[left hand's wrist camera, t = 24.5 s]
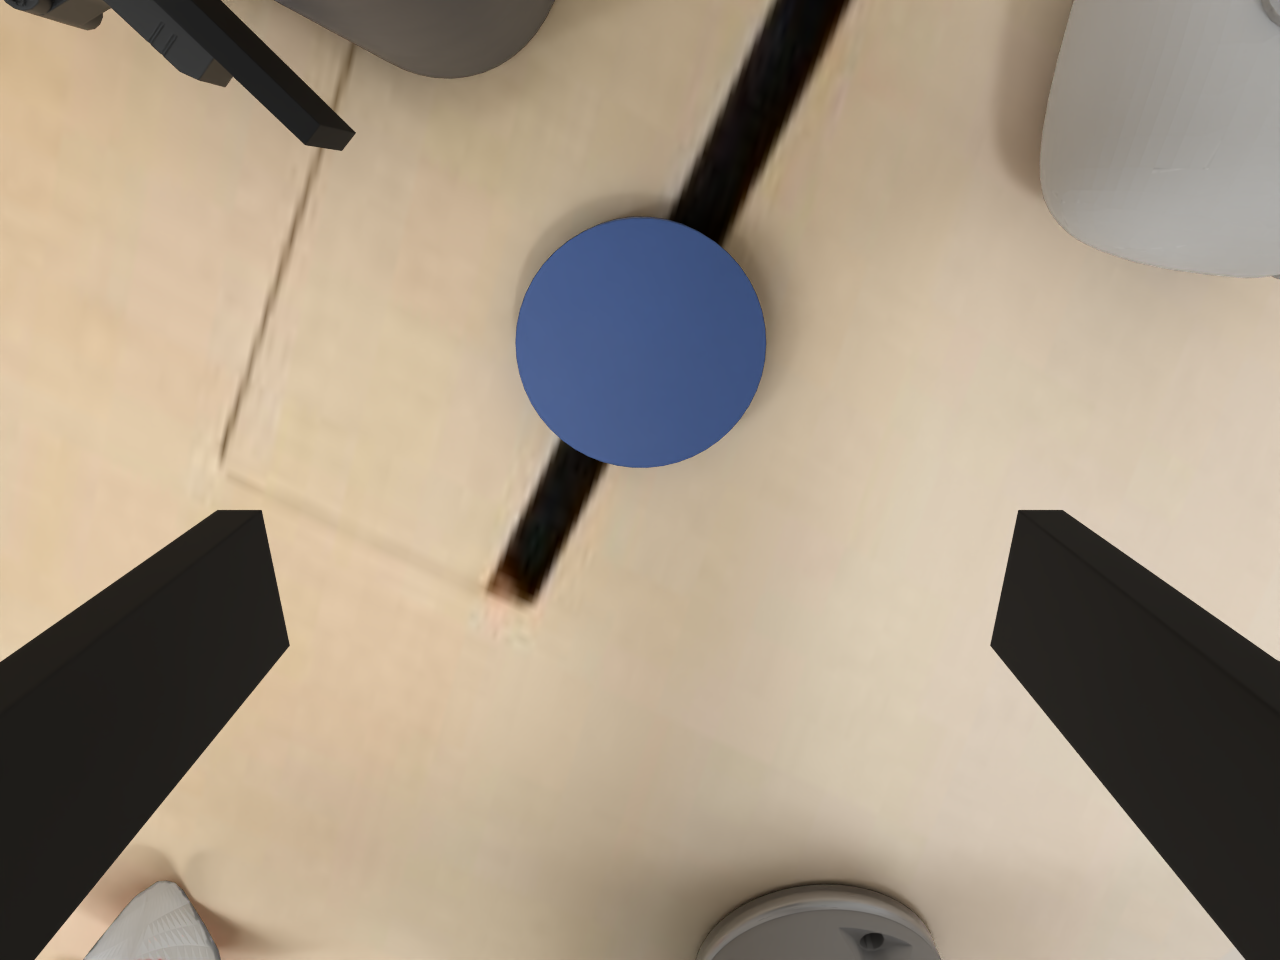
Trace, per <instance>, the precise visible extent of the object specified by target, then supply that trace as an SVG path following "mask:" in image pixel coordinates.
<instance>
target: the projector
mask: <svg viewBox="0 0 1280 960" xmlns="http://www.w3.org/2000/svg"><path fill="white" fill-rule="evenodd" d="M1040 182H1041V188H1042V193H1043V197H1044V200H1045V202H1046V205H1047V207H1048V209H1049V211H1050V213H1051V214H1052V216H1053V217H1054V218H1055V220H1056V221H1057V222H1058V224H1059V225H1060V226H1062V227H1063V228H1064V229H1065V230H1066V231H1067V232H1068V233H1069V234H1070V235H1072V236H1073V237H1075V238H1076V239H1077V240H1079V241H1081V242H1083V243H1085V244H1087V245H1089V246H1091V247H1093V248H1095V249H1097V250H1100V251H1102V252H1105V253H1108V254H1110V255H1113V256H1116V257H1120V258H1123V259H1126V260H1129V261H1132V262H1137V263H1141V264H1146V265H1150V266H1154V267H1159V268H1165V269H1171V270H1177V271H1184V272H1192V273H1199V274H1206V275H1217V276H1227V277H1237V278H1260V277H1268V276H1272V277H1274V278H1277V279H1280V0H1074V1H1073V4H1072V8H1071V11H1070V15H1069V19H1068V22H1067V26H1066V30H1065V33H1064V37H1063V40H1062V44H1061V48H1060V51H1059V55H1058V59H1057V63H1056V68H1055V72H1054V76H1053V80H1052V85H1051V89H1050V93H1049V98H1048V103H1047V109H1046V114H1045V120H1044V125H1043V131H1042V141H1041V151H1040Z"/></svg>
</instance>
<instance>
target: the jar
mask: <svg viewBox="0 0 1280 960" xmlns="http://www.w3.org/2000/svg"><path fill="white" fill-rule="evenodd" d="M275 1H276V2H278V3H280V4H282V5H284V6H286V7H287V8H289V9H291V10H293V11H295V12H297V13H299V14H300V15H302V16H304V17H306V18H308V19H310V20H312V21H313V22H315V23H317V24H319V25H321V26H323V27H325V28H326V29H328V30H330V31H332V32H334V33H336V34H338V35H339V36H341V37H343V38H345V39H347V40H349V41H351V42H352V43H354V44H356V45H358V46H360V47H362V48H363V49H365V50H367V51H369V52H371V53H373V54H375V55H376V56H378V57H380V58H382V59H384V60H386V61H388V62H390V63H392V64H394V65H396V66H398V67H400V68H402V69H404V70H407V71H410V72H413V73H416V74H419V75H423V76H429V77H434V78H461V77H468V76H472V75H476V74H480V73H483V72H486V71H488V70H490V69H492V68H495V67H497V66H499V65H500V64H502V63H504V62H505V61H507V60H508V59H510V58H511V57H513V56H514V55H515V54H516V53H517V52H519V51H520V50H521V49H522V48H523V47H524V46H525V45H526V44H527V43H528V42H529V41H530V39H531V38H532V37H533V36H534V35H535V34H536V32H537V31H538V29H539V28H540V26H541V25H542V23H543V22H544V20H545V19H546V17H547V15H548V13H549V11H550V9H551V7H552V5H553V3H554V0H275Z"/></svg>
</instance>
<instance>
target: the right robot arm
mask: <svg viewBox="0 0 1280 960" xmlns="http://www.w3.org/2000/svg"><path fill="white" fill-rule="evenodd" d="M4 1H5V2H6V3H7V4H9V5H10V6H12V7H13V8H15V9H18V10H21V11H25V12H28V13H31V14H34V15H37V16H41V17H44V18H47V19H51V20H54V21H57V22H60V23H64V24H67V25H70V26H74V27H77V28H81V29H85V30H92V29H95V28H96V27H98V26H99V25H100V23H101V21H102V18H103V12H105V11H107V10H108V9H110V8H112V9H113V10H114V11H115V12H116V13H117V14H119V15H120V16H121V17H122V18H123V19H124V20H125V21H126V22H127V23H128V24H129V25H130V26H131V27H133V28H134V29H135V30H136V31H137V32H138V33H139V34H140V35H141V36H142V37H143V38H144V39H145V40H146V41H148V42H149V43H150V44H151V45H152V46H153V47H154V48H155V49H156V50H157V51H158V52H159V53H160V54H162V55H163V56H164V57H165V58H166V59H167V60H168V61H169V62H170V63H171V64H172V65H173V66H174V67H175V68H176V69H178V70H179V71H180V72H182V73H184V74H186V75H188V76H191V77H193V78H195V79H197V80H200V81H204V82H207V83H211V84H215V85H219V86H222V87H226V86H227V84H228V83H229V81H230V80H231V78H232V77H234V78H235V79H236V80H237V81H238V82H239V83H241V84H242V85H243V86H244V87H245V88H246V89H247V90H248V91H249V92H250V93H251V94H252V95H253V96H254V97H255V98H256V99H257V100H258V101H259V102H260V103H262V104H263V105H264V106H265V107H266V108H267V109H268V110H269V111H270V112H271V113H272V114H273V115H274V116H275V117H276V118H277V119H278V120H279V121H280V122H281V123H283V124H284V125H285V126H286V127H287V128H288V129H289V130H290V131H291V132H292V133H293V134H294V135H295V136H296V137H297V138H298V139H299V140H300V141H301V142H302V143H304V144H305V145H308V146H314V147H321V148H327V149H333V150H340V151H342V150H343V149H344V148H345V146H346V145H347V144H348V142H349V141H350V140H351V139H352V137H353V136H354V135H355V133H356V132H354V131H353V130H352V129H351V128H350V127H349V126H348V125H347V124H346V123H345V122H344V121H343V120H342V119H341V118H340V117H339V116H338V115H337V114H336V113H335V112H334V111H333V110H332V109H331V108H330V107H329V106H328V105H327V104H326V103H325V102H324V101H323V100H322V99H321V98H320V97H319V96H318V95H317V94H316V93H315V92H314V91H313V90H312V89H311V88H310V87H309V86H308V85H307V84H306V83H305V82H304V81H302V80H301V79H300V78H299V77H298V76H297V75H296V74H295V73H294V72H293V71H292V70H291V69H290V68H289V67H288V66H287V65H286V64H285V63H284V62H283V61H282V60H281V59H280V58H279V57H278V56H277V55H276V54H275V53H274V52H273V51H272V50H271V49H270V48H269V47H268V46H267V45H266V44H265V43H264V42H263V41H262V40H261V39H260V38H259V37H258V36H257V35H256V34H255V33H254V32H253V31H252V30H250V29H249V28H248V27H247V26H246V25H245V24H244V23H243V22H242V21H241V20H240V19H239V18H238V17H237V16H236V15H235V14H234V13H233V12H232V11H231V10H230V9H229V8H228V7H227V6H226V5H225V4H224V3H223V2H222V1H221V0H4Z"/></svg>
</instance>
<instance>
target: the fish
mask: <svg viewBox="0 0 1280 960" xmlns="http://www.w3.org/2000/svg"><path fill="white" fill-rule="evenodd" d="M83 960H221V959H220V955H219V951H218V948H217V946H216V945H215V943H214V941H213V939H212V937H211V935H210V934H209V932H208V930H207V928H206V926H205V924H204V923H203V921H202V920H201V918H200V916H199V915H198V913H197V912H196V910H195V909H194V907H193V905H192V904H191V902H190V901H189V899H188V897H187V896H186V894H185V892H184V891H183V890H182V889H181V888H180V887H179V886H178V885H177V884H176V883H174V882H170V881H158V882H156V883H154V884H153V885H151V886H150V887H149V888H147V889H146V890H144V891H142V892H141V893H139V894H138V895H136V896H135V897H134V898H133V899H132V901H131V902H130V903H129V904H128V905H127V906H126V907H125V908H124V909H123V911H122V912H121V913H120V914H119V916H118V917H117V918H116V919H115V921H114V922H113V923H112V924H111V925H110V927H109V928H108V929H107V930H106V932H105V933H104V934H103V935H102V937H101V938H100V939H99V940H98V941H97V943H96V944H95V945H94V946H93V948H92V949H91V950H90V952H89V953H88V954H87V955H86V957H85V958H84V959H83Z"/></svg>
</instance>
